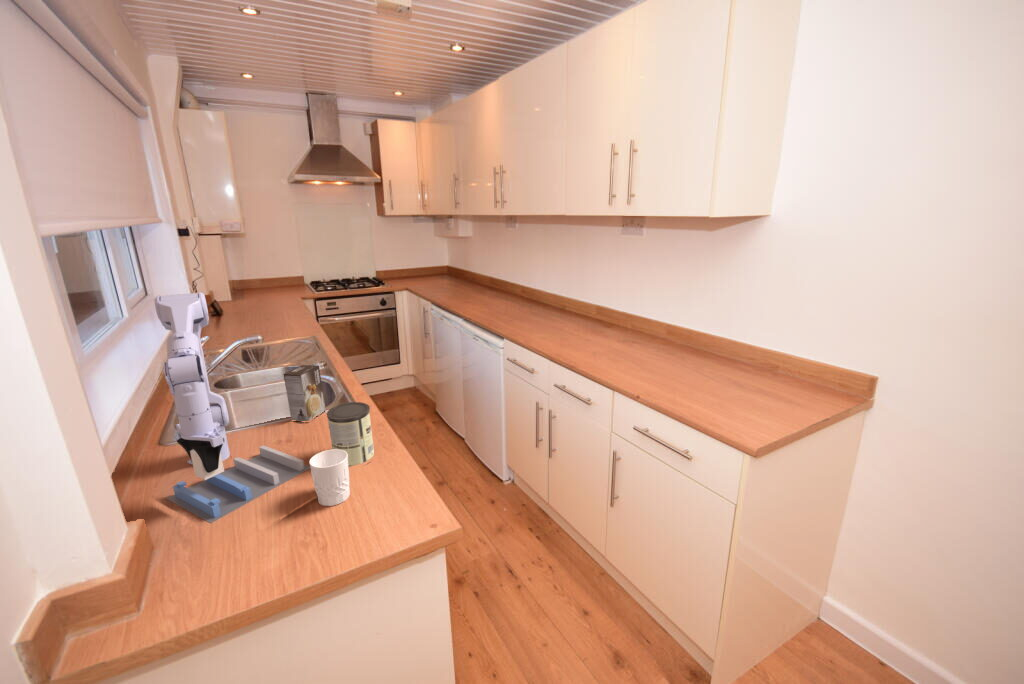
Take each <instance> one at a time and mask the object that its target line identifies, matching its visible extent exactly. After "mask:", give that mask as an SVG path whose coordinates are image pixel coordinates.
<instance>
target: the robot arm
mask: <svg viewBox="0 0 1024 684" xmlns="http://www.w3.org/2000/svg"><path fill="white" fill-rule="evenodd" d="M154 307H155V311H156V315H157V318H158V320H159V321H160V324H161V325H162V327H164V329H165V330H167V331H171V332H172V334H169V336H168V337H167V339H166V357H167V358H166V359H167V360H166V361H163V363H162V365H163V374H164V379H165V381H166V384H167V386H168V387H169V391H170V392H169V393H170V394H171V395H172V396H173V401H174V406H175V408H176V409H175V410H176V413H177V418H178V422H179V423H177V424H175V427H176V431H177V433H178V434H180V436H181V438H178V439H177V440H176V443H177V444H178V445H179V446H181V447H182V448H183V450H184V451H185V452H186V454H187V455H188V457H189V458H190V459H189V460H186V461H187V462H186V463H187V464H189V465H193V463H192V458H191V454H190V451H191V450H194V451H196V453H197V454H198V455H199V457H200V459H201V461H202V463H203V466H204V468H205V470H206V472H208V473H210V472H212V471H214V470H216V469H218V465H219V456H220V452H221V457H222V462H224V461H225V460H227V459H228V458H229V457H230V456H231V452H230V447H229V442H228V438H227V433H226V427H227V426H228V425H229V424H230V419H229V417H230V416H229V412H228V406H227V403H226V399H225V398H224V397H223V396H222V395H221V394H219V393H215V392H213V391H211V388H210V381H209V377H208V371H207V366H206V362H205V361H206V360H205V356H204V351H203V345H202V338H201V336H202V335H201V333H202V329H203V328H204V327H206V326H208V325H209V322H210V317H209V310H208V304H207V300H206V296H205V293H203V292H202V291H199V292H193V293H180V294H170V295H169V294H167V295H166V294H165V295H156V296H155V298H154Z"/></svg>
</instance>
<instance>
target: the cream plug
mask: <svg viewBox="0 0 1024 684" xmlns="http://www.w3.org/2000/svg"><path fill="white" fill-rule="evenodd" d="M190 454H191V458H192V463H193V464H192V467H193V471H194V476H196V477H198V478H200V479H203V481H204V480H207V479H209V478H211V477H213V476H215V475H217V474H219V473H222V472H224V471H225V469H224V467H225V466H224V464H223V462H224V461H222V457H221V452H220V456H219V465H218V469H216V470H214V471H212V472H210V473H208V472H206V470H205V468H204V466H203V463H202V461H201V459H200V457H199V455H198V454H197V453H196V451H194V450H191V451H190Z"/></svg>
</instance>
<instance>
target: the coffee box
mask: <svg viewBox="0 0 1024 684" xmlns="http://www.w3.org/2000/svg"><path fill="white" fill-rule="evenodd" d="M283 379H284V384H285V391H286V392H285V393H286V396H287V397H286V398H287V402H288V407H289V414H290V419H291V420H296V421H310V420H311V419H313V418H314V417H315V416H317V415H318V414H319V413H321V412H322V411H324V410H326V403H325V398H324V391H323V384H322V378H321V371H320V365H311V364H302V365H299V366H296V367H295V368H293V369H291V370H289V371H287V372H285V373H283ZM326 411H327V410H326ZM291 420H290V421H291ZM313 420H314V419H313Z"/></svg>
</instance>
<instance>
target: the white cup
mask: <svg viewBox="0 0 1024 684" xmlns="http://www.w3.org/2000/svg"><path fill="white" fill-rule="evenodd" d="M308 464H309V467H310V472H311V478H312V483H313V487H314V491H315V493H316V497H317V501H318V504H320V505H321V506H324V507H325V506H326V507H332V506H337V505H340V504H341V503H344V502H345V501H346V500H348V499H349V497H350V494H351V491H350V471H349V467H350V466H348V454H347V452H346V451H344V450H340V449H327V450H323V451H321V452H318V453H316V454H315V455H312V457H311V458H310V459H309V463H308Z"/></svg>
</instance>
